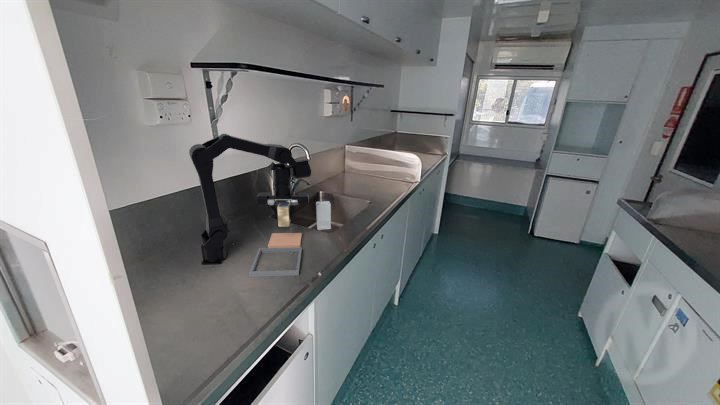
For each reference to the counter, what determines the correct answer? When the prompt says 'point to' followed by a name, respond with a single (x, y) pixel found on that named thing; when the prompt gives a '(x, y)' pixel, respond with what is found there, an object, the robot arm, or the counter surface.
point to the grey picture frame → (275, 273)
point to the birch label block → (283, 214)
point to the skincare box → (323, 215)
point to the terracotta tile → (285, 240)
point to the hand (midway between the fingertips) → (284, 218)
